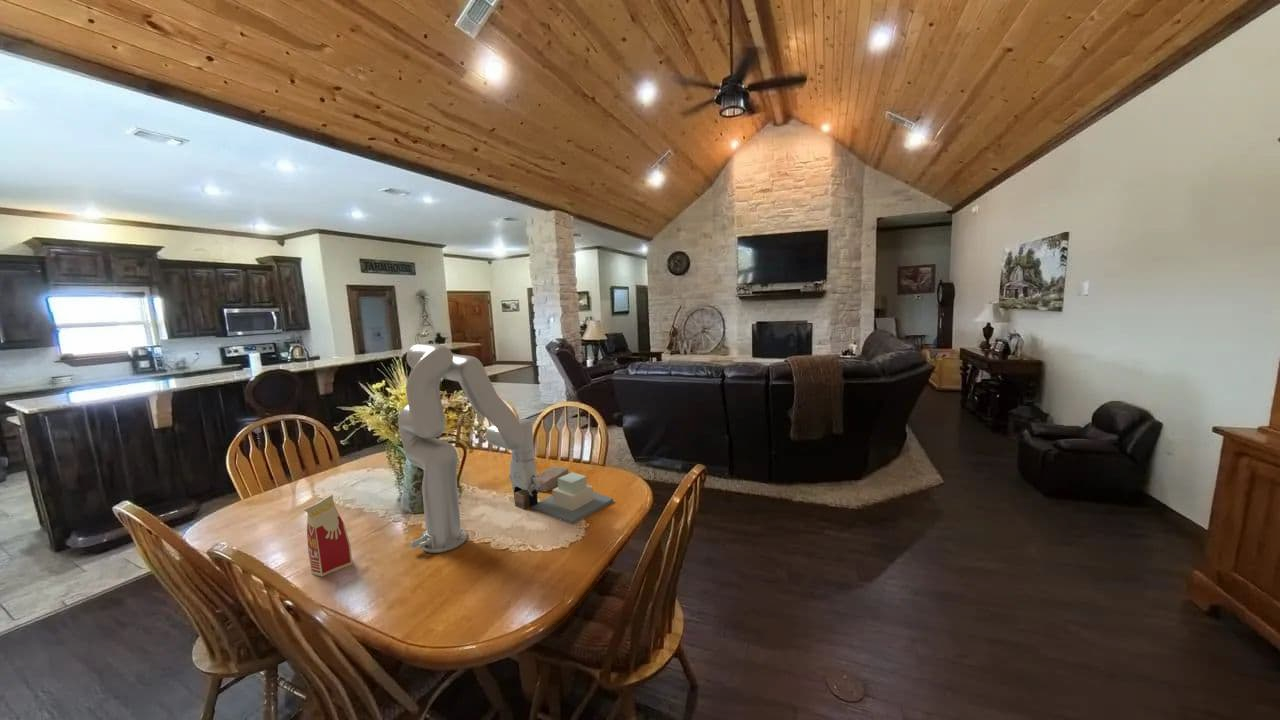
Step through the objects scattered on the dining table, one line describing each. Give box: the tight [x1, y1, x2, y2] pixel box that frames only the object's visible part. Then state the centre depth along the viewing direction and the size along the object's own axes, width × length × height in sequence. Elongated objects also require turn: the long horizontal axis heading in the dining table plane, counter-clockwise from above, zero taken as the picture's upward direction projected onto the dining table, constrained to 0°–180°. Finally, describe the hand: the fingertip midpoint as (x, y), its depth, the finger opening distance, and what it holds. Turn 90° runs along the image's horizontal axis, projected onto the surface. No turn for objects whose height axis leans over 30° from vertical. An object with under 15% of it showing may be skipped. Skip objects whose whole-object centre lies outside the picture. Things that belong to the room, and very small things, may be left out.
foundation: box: [531, 484, 614, 525], centre depth 158 cm, size 20×20×6 cm
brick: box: [531, 465, 570, 493], centre depth 178 cm, size 17×8×5 cm, turn 155°
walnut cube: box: [513, 489, 531, 511], centre depth 159 cm, size 5×5×5 cm
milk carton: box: [302, 493, 353, 577], centre depth 124 cm, size 9×9×20 cm
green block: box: [557, 471, 588, 494], centre depth 157 cm, size 7×7×4 cm
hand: (525, 502), depth 159 cm, fingers open, 8 cm apart
